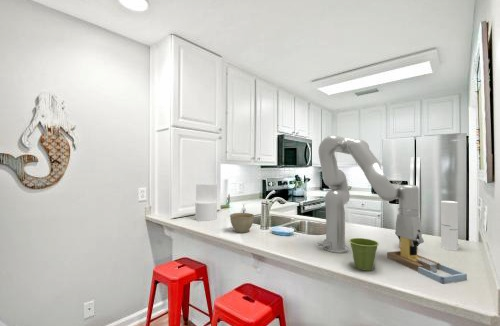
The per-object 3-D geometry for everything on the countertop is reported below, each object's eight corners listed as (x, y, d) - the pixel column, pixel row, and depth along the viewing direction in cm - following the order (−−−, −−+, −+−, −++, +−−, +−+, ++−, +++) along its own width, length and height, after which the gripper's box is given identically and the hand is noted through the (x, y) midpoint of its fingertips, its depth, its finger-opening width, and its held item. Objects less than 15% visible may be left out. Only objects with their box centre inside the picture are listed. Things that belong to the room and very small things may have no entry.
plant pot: (382, 267, 109) (382, 241, 109) (373, 276, 101) (373, 248, 101) (355, 260, 117) (355, 236, 118) (344, 267, 109) (344, 241, 109)
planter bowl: (256, 233, 161) (256, 217, 162) (230, 234, 159) (230, 217, 159) (251, 227, 177) (252, 212, 177) (229, 228, 175) (229, 212, 175)
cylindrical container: (442, 245, 140) (442, 200, 140) (458, 248, 134) (458, 201, 135) (439, 248, 135) (439, 201, 135) (457, 251, 129) (457, 203, 130)
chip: (430, 272, 102) (430, 264, 102) (423, 269, 105) (423, 261, 105) (436, 272, 102) (436, 264, 102) (429, 268, 105) (429, 261, 105)
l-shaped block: (414, 266, 108) (414, 240, 108) (400, 260, 114) (400, 235, 115) (423, 265, 109) (424, 239, 109) (409, 259, 116) (409, 235, 116)
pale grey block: (423, 269, 105) (423, 261, 105) (416, 266, 108) (416, 259, 108) (429, 268, 106) (429, 261, 106) (422, 265, 109) (422, 258, 109)
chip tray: (442, 286, 92) (442, 277, 92) (417, 274, 102) (417, 266, 102) (466, 282, 95) (466, 274, 95) (440, 271, 105) (440, 263, 105)
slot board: (418, 274, 102) (418, 265, 102) (387, 259, 118) (387, 252, 118) (439, 271, 105) (439, 263, 105) (405, 257, 121) (405, 250, 121)
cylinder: (199, 216, 215) (199, 183, 215) (218, 216, 213) (219, 183, 214) (192, 220, 198) (192, 185, 198) (214, 221, 196) (214, 185, 196)
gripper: (387, 209, 120) (387, 247, 120) (419, 216, 104) (419, 260, 104) (399, 208, 122) (399, 246, 122) (433, 215, 106) (433, 259, 106)
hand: (408, 252), depth 113 cm, fingers closed on l-shaped block, 4 cm apart
